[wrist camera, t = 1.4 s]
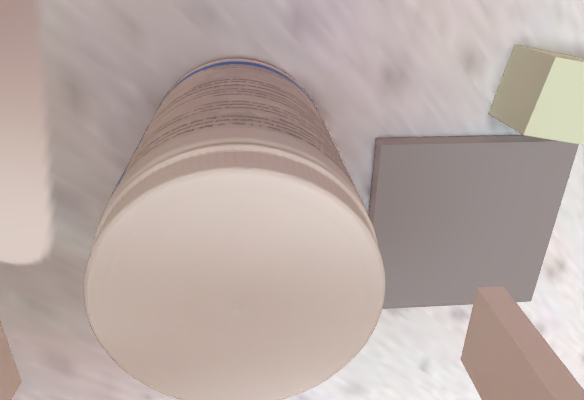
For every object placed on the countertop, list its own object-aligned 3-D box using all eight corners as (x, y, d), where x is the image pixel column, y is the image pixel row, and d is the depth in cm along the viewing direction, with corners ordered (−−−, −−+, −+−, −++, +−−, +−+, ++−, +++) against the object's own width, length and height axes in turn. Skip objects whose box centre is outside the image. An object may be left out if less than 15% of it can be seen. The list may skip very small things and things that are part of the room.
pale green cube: (487, 113, 28) (523, 135, 24) (513, 44, 26) (555, 57, 23) (547, 123, 29) (590, 146, 25) (577, 56, 27) (627, 71, 23)
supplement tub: (125, 92, 25) (-2, 230, 12) (288, 27, 25) (337, 101, 12) (202, 233, 30) (167, 445, 17) (342, 182, 29) (421, 362, 16)
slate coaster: (360, 298, 33) (364, 309, 32) (376, 138, 28) (381, 145, 27) (522, 290, 34) (531, 301, 33) (567, 134, 29) (579, 140, 28)
